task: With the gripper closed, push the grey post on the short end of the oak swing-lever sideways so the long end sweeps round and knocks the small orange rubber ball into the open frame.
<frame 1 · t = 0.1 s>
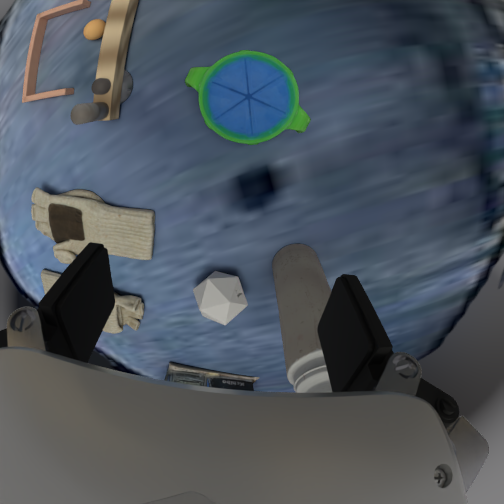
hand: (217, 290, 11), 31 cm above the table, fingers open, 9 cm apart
pivot base: (115, 87, 31), on the table
pair of gloves: (91, 262, 47), on the table
ball: (100, 31, 26), on the table
open frame: (57, 51, 26), on the table
thermos bottle: (295, 263, 47), on the table
lever: (103, 52, 24), point 5 cm above the table, hinge at 0.0°
snack cup: (248, 99, 34), on the table
radio: (212, 374, 63), on the table
die: (221, 283, 49), on the table
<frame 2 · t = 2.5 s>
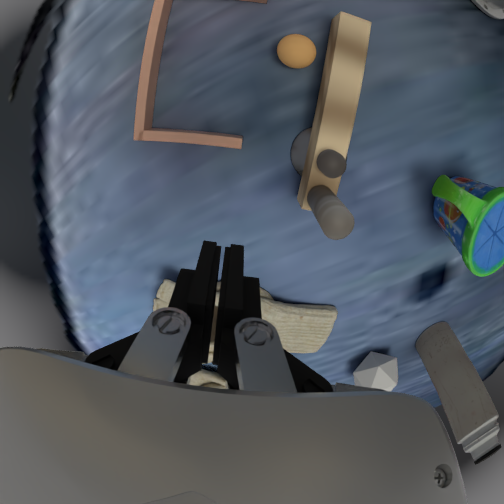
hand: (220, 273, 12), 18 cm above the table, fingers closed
pivot base: (319, 154, 27), on the table
pair of gloves: (227, 351, 43), on the table
ball: (293, 54, 21), on the table
open frame: (203, 60, 22), on the table
thermos bottle: (432, 335, 43), on the table
lever: (346, 110, 20), point 5 cm above the table, hinge at 0.0°
snack cup: (450, 201, 29), on the table
die: (370, 359, 45), on the table
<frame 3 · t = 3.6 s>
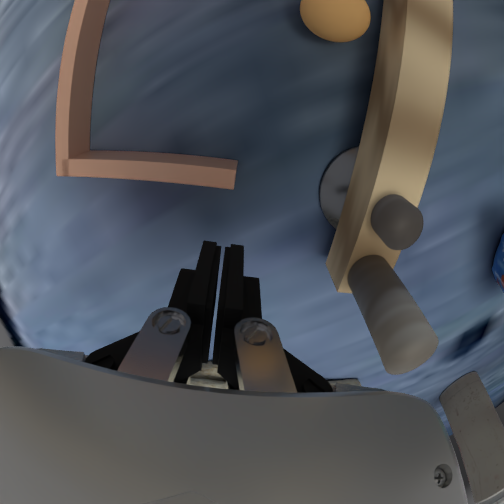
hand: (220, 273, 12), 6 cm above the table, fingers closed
pivot base: (364, 192, 16), on the table
pair of gloves: (222, 419, 32), on the table
ball: (326, 20, 11), on the table
open frame: (169, 31, 11), on the table
thermos bottle: (458, 385, 32), on the table
lever: (434, 128, 9), point 5 cm above the table, hinge at 0.0°
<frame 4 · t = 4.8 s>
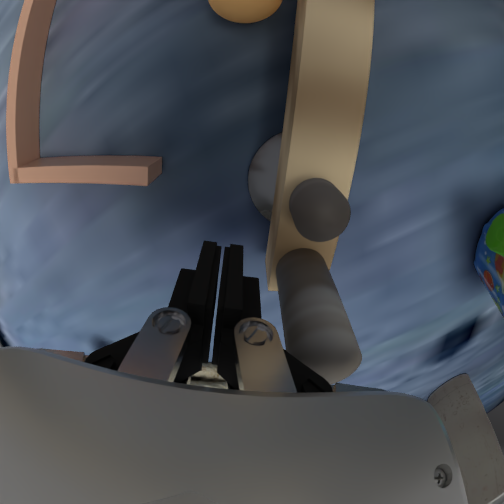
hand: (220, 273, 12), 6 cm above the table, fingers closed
pivot base: (300, 180, 15), on the table
pair of gloves: (195, 418, 31), on the table
ball: (245, 4, 10), on the table
open frame: (97, 40, 10), on the table
thermos bottle: (447, 388, 31), on the table
lever: (345, 92, 8), point 5 cm above the table, hinge at 2.2°, touching gripper
snack cup: (495, 239, 18), on the table
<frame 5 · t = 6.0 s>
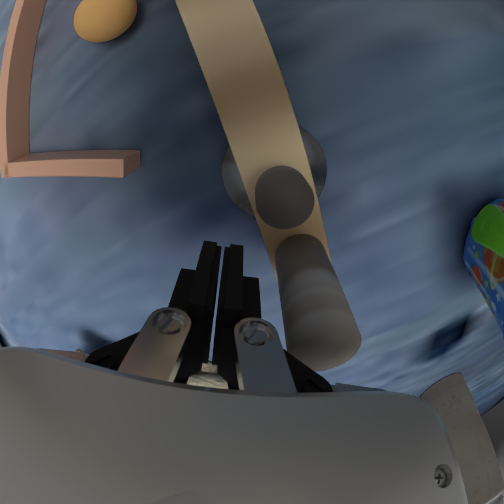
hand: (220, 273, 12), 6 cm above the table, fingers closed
pivot base: (274, 171, 15), on the table
pair of gloves: (183, 412, 32), on the table
ball: (83, 9, 7), point 4 cm above the table, tilted 168°
open frame: (81, 41, 10), on the table
thermos bottle: (440, 387, 31), on the table
lever: (246, 81, 8), point 5 cm above the table, hinge at 26.0°, touching gripper
snack cup: (486, 234, 18), on the table
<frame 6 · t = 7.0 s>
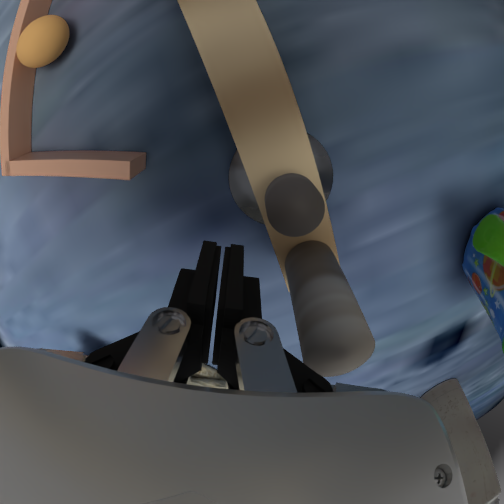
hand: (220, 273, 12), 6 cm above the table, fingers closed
pivot base: (281, 177, 15), on the table
pair of gloves: (180, 416, 31), on the table
ball: (57, 43, 10), on the table
open frame: (88, 38, 10), on the table
thermos bottle: (436, 392, 32), on the table
lever: (255, 89, 9), point 5 cm above the table, hinge at 28.6°
snack cup: (485, 242, 18), on the table
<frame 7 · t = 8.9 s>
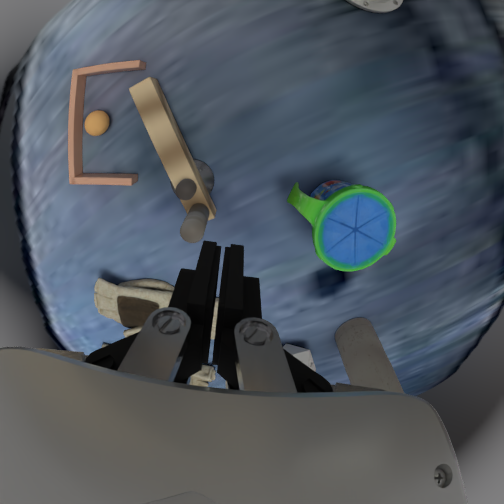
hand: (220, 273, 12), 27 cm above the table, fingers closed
pivot base: (192, 180, 36), on the table
pair of gloves: (160, 338, 51), on the table
ball: (91, 123, 30), point 1 cm above the table, tilted 58°
open frame: (108, 122, 31), on the table
thermos bottle: (353, 331, 52), on the table
lever: (167, 153, 29), point 5 cm above the table, hinge at 28.6°
snack cup: (331, 203, 39), on the table
die: (289, 351, 53), on the table
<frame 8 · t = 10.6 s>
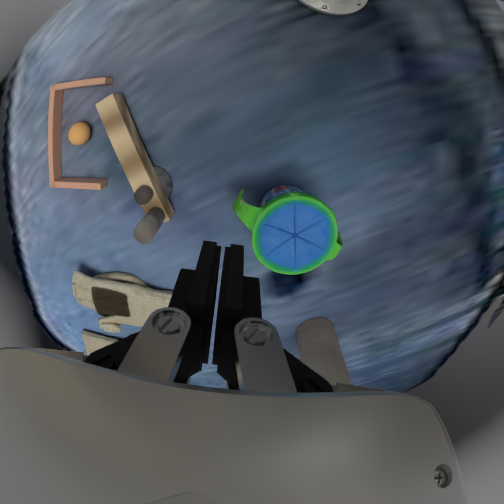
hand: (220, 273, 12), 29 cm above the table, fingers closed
pivot base: (153, 185, 39), on the table
pair of gloves: (133, 327, 54), on the table
ball: (69, 134, 31), point 2 cm above the table, tilted 107°
open frame: (82, 132, 34), on the table
thermos bottle: (314, 330, 55), on the table
lever: (126, 163, 32), point 5 cm above the table, hinge at 28.6°
snack cup: (284, 207, 41), on the table
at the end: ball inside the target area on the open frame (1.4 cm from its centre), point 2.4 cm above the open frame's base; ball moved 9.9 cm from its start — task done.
